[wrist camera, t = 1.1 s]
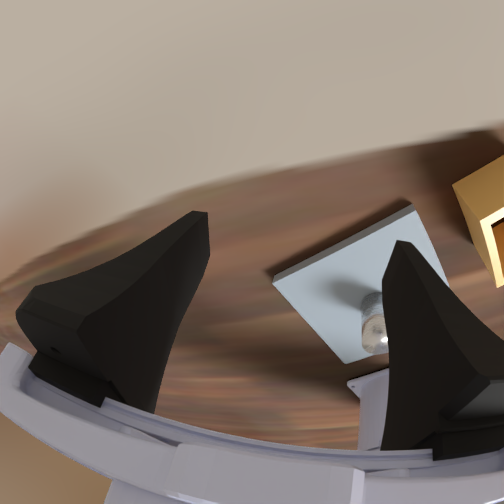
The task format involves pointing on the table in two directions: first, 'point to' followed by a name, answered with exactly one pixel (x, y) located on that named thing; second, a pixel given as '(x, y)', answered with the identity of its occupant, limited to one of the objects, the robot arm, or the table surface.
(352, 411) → the table surface
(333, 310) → the board
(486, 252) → the collar
